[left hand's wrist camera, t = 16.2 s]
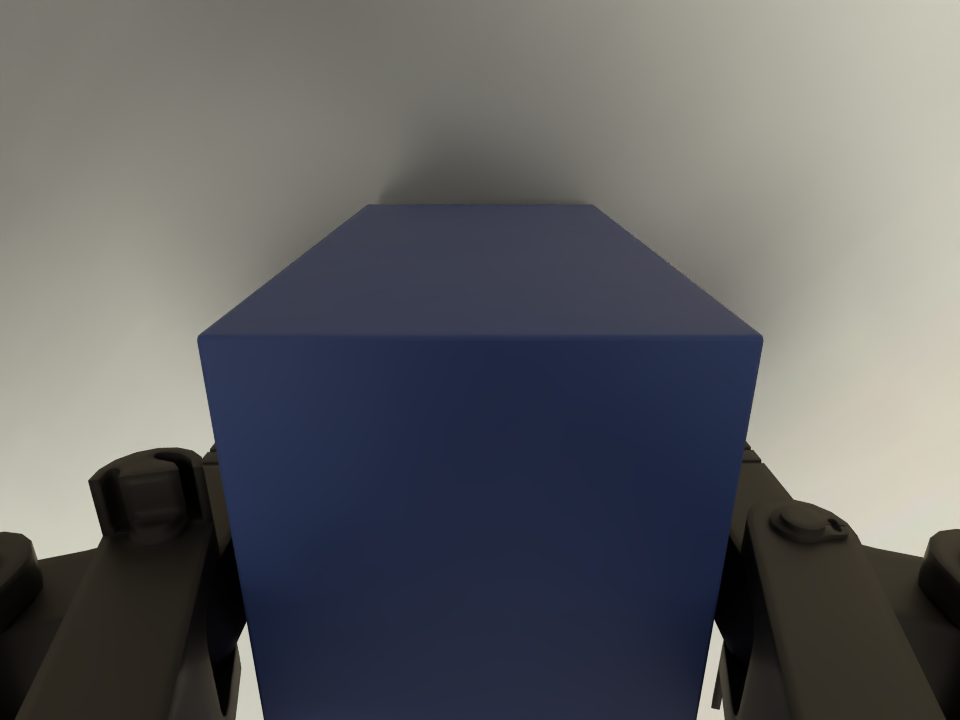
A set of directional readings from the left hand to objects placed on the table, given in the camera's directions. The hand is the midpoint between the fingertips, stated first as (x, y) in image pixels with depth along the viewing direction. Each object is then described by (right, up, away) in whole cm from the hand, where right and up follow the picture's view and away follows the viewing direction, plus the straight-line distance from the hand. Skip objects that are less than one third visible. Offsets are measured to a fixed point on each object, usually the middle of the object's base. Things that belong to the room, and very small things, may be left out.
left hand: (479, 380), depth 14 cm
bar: (0, -9, +4) cm, 10 cm away
